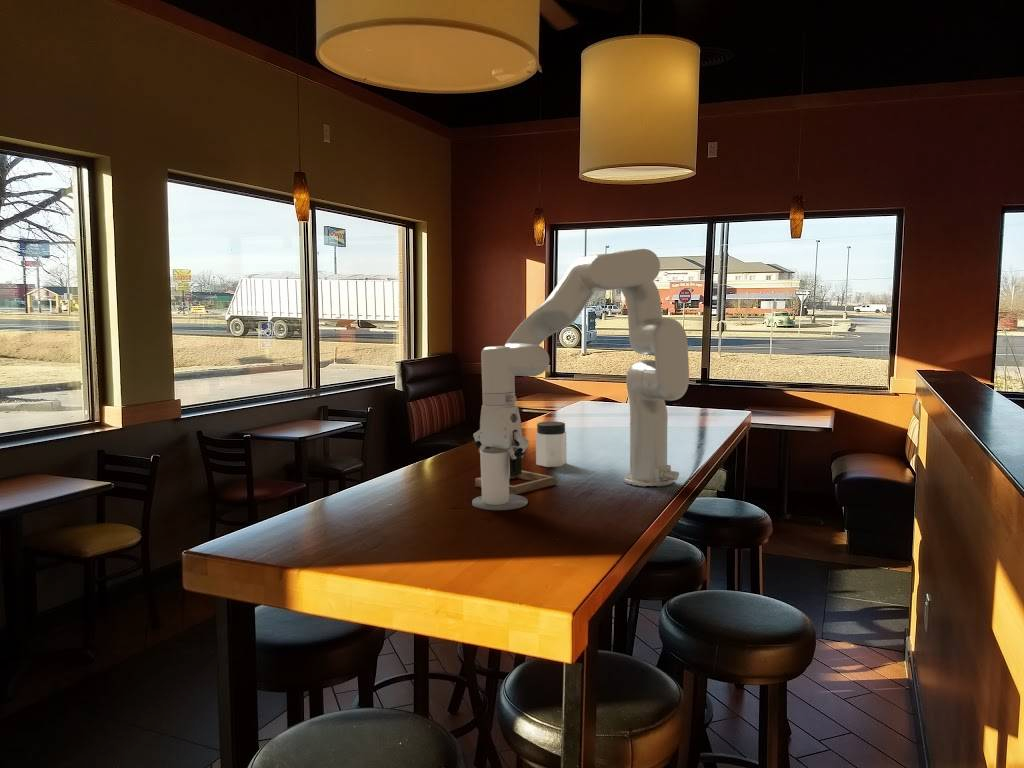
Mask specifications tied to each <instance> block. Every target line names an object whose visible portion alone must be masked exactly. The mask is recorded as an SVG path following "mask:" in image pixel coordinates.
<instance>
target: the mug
mask: <svg viewBox="0 0 1024 768" xmlns="http://www.w3.org/2000/svg"><path fill="white" fill-rule="evenodd" d="M479 454H480V460H479V461H480V477H481V486H482V488H481V496H482V502H483V503H484V504H488V505H501V504H506V503H508V502H509V485H510V479H509V476H510V454H509V452H508V451H507V450H502V449H496V448H491V449H484V450H481V451H480V453H479Z"/></svg>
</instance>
